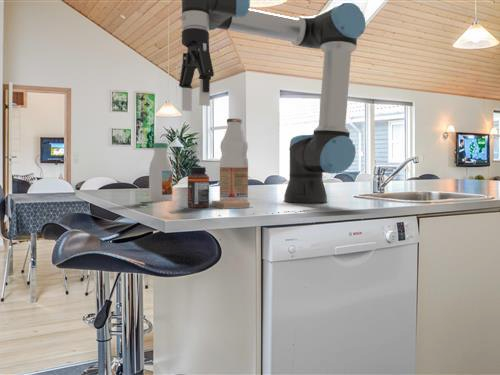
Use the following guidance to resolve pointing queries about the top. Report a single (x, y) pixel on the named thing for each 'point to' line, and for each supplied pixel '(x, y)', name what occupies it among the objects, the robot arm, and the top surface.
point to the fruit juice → (234, 163)
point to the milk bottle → (160, 175)
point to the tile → (230, 204)
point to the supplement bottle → (198, 188)
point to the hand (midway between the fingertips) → (195, 108)
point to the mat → (206, 208)
